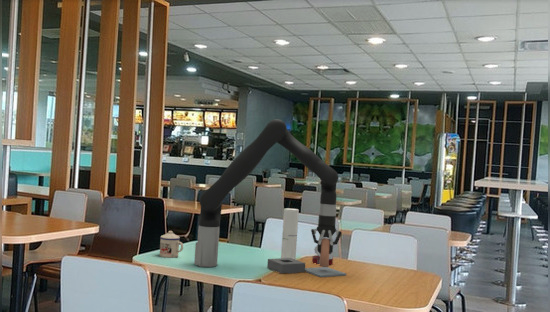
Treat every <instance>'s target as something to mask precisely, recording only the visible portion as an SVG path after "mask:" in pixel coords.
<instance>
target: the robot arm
mask: <svg viewBox="0 0 550 312" xmlns="http://www.w3.org/2000/svg"><path fill="white" fill-rule="evenodd" d="M275 144H278V145H280V146H282V147H283V149H286V150H287V151H289V153H290V154H292V155H293V157H295V158H296V159H297V161H299V162H300V163H301V164H302V165H303V166H304V167H306V168H307V169H308V170H309V171H310V172H312V173H313V174H314V175H315V176H317V177H318V178H319V179H320V181H321V183H320V186H321V187H320V189H321V191H320V201H319V209H318V219H317V220H318V224H317V227H316V228H311V230H310V232H311V236H312V239H313V242H314V243H315V244H317V245H318V249H317V250H318V252H319V253H321V242H322V239H323V238H328V239H330V251H329V254H331V253H332V254H333V250H334V246H335V245H338V243H339V240H340V239H341V236H342V234H343V233H342V231H341V230H338V229H337V228H336V221H337V220H336V219H337V192H336V191H337V182H338V180H339V173H338V172H337V171H336V170H335V169H334V168H332V167H331V166H330V165H329V164H327V163H326V162H324V160H323V159H321V158H320V156H318V155H317V153H315V152H314V151H313V150H311V149H310V148H309V147H308V146H306V145H305V144H303V143H301V142H300V141H299V140H298V139H296V137H294V135H292V133H291V132H290V131H289V130H288V128H287V125H286V123H285V122H284V121H283V120H281V119H280V118H279V119H277V118H275V119H272V120H269V122H268V123H267V124H266V125H265V127H264V128H263V130H262V131H261V132H260V134H258V136H257V137H256V138H255V139H254V140H253V141H252V142H251V143H249V145H248V146H247V147H246V146H245V148H243V150H242V151H241V152H240V153H239V154H238V155H237V156H236V157H235V158H234V159H233V160H232V161H231V162H230V164H229V165H228V167H226V169H225V170H224V172H223V173H222V174H221V176H220V177H219V178H218V179H217V180H216V181H215V182H214V183H213V184H211V186H210V187H208V188H207V189H206V190H205V191H203V192H202V193H201V195H200V198H199V205H200V211H199V212H200V213H199V218H198V230H197V241H196V242H195V246H194V248H195V249H194V261H193V262H194V263H193V264H194V265H195V266H197V267H201V268H203V267H205V268H213V267H216V266H218V256H219V255H218V254H219V245H220V244H219V242H220V241H219V240H220V225H221V218H222V217H221V216H222V207H223V206H222V205H223V204H222V203H223V201H224V200H225V198H226V197H227V195H229V193H231V191H232V190H233V189H234V188H235V187H237V186H238V185H239V184H241V183H242V182H243V181H244V180H245V179H246V178H247V177H248V176H249V175H250V174H251V173H252V172H253V171H254V170H255V169H256V167H257V166H258V165H259V164H260V162H261V161H262V160H263V159H264V157H265V155H266V154H267V153H268V151H269V150H270V149H272V147H273V146H274V145H275ZM317 232H318V234H319V237H318V240H317V237H316V234H317ZM333 235H336V236H335V239H334V240H333Z"/></svg>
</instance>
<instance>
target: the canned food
mask: <svg viewBox="0 0 550 312" xmlns="http://www.w3.org/2000/svg"><path fill="white" fill-rule="evenodd" d="M317 249H318V244H317V245H316V246H314V249H313V250H314V253H315V254H316V255H312V259H311V260H312V261H311V263H312V262H313V263H312V264H314V263H316V264H315V265H317V264H320V253H319V252H318V250H317ZM333 259H334V255H333V252H332V253H331V254H329V266H332V265H333V262H334V260H333ZM331 264H332V265H331Z"/></svg>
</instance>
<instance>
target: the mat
mask: <svg viewBox="0 0 550 312" xmlns="http://www.w3.org/2000/svg"><path fill="white" fill-rule="evenodd" d="M305 271H306V273H308V274H311V275H313V276H315V277H319V278H327V277H328V278H329V277H342V276H347V273H346V272H344V271H340V270H337V269H334V268H330V266H329V267H321V266H318V267H317V266H316V267H305Z"/></svg>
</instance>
